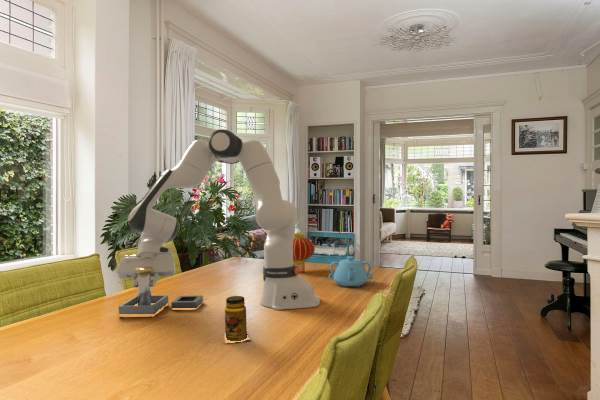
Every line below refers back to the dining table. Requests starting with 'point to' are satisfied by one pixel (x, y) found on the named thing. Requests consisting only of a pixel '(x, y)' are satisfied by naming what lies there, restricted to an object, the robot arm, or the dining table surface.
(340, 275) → the blue handled pot
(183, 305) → the blue-grey square holder
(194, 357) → the dining table surface
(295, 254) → the lantern
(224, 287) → the dining table surface
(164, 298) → the tray
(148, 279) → the glass jar
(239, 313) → the condiment
